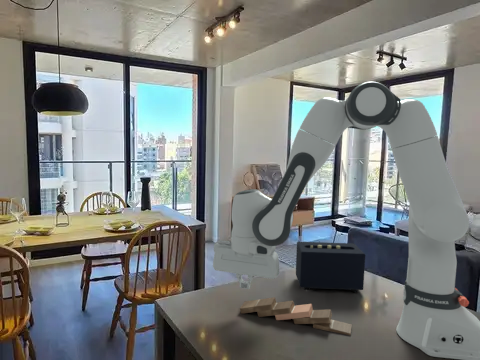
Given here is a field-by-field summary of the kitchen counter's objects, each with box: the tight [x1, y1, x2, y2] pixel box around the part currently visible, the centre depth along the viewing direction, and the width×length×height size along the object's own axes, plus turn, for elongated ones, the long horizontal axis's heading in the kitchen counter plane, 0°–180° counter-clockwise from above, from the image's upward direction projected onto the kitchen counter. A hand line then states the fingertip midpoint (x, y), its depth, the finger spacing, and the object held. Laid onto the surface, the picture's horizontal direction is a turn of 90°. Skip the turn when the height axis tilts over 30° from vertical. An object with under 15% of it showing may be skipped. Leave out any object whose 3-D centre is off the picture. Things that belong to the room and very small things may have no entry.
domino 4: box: [292, 308, 333, 325], centre depth 98 cm, size 2×5×10 cm
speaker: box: [295, 241, 366, 293], centre depth 124 cm, size 22×13×15 cm, turn 88°
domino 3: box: [274, 303, 314, 321], centre depth 100 cm, size 2×5×10 cm
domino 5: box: [312, 318, 353, 336], centre depth 96 cm, size 2×5×10 cm
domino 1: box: [239, 296, 277, 315], centre depth 103 cm, size 2×5×10 cm
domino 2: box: [256, 300, 295, 318], centre depth 102 cm, size 2×5×10 cm
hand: (245, 287), depth 104 cm, fingers closed
